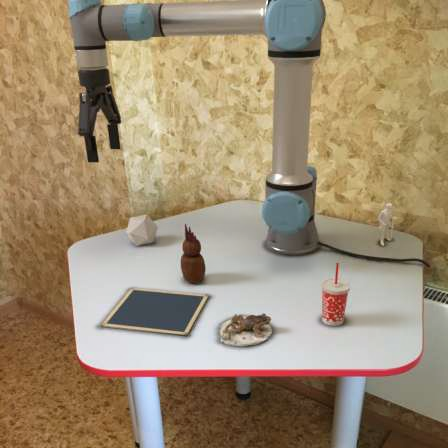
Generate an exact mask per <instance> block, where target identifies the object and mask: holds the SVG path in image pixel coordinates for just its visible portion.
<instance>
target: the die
mask: <svg viewBox="0 0 448 448" xmlns="http://www.w3.org/2000/svg"><path fill="white" fill-rule="evenodd" d="M158 229H159V226H158V225H157V224H156V223H155V222H154V220H153V219H152V217H151V216H149V214H142V215H137V216H132V217H131V216H130V217H129V220H128V223H127V228H126V231H125V234H126V235H127V237H128V238H129V239H130V240H131V242H132V243H133V244H134V245H135V247H140V246H144V245H149V244H153V243H154V241H155V238H156V235H157V232H158Z"/></svg>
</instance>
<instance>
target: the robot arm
mask: <svg viewBox="0 0 448 448" xmlns="http://www.w3.org/2000/svg"><path fill="white" fill-rule="evenodd" d="M67 5H68V15H69V16H68V19H69V23H70V28H71V35H72V40H73V46H74V58H75V61H76V67H77V68H78V71H77V76H78V82H79V83H78V84H79V85H80V87H82V88H83V87H84V88H85V92H79V94H78V97H79V99H78V100H79V112H78V113H79V114H78V127H77V134H78V136H79V137H83V139H84V145H85V151H86V152H85V153H86V159H87V162H88V163H95V164H96V163H97V164H98V163H99V162H100V159H99V151H98V145H97V138H96V137H97V136H96V135H94V132H95V127H96V122H97V117H98V113H99V112H100V110H101V112H102V113H103V116H104V117H105V119H106V121H107V122H108V124H106V126H107V127H106V128H107V135H108V143H109V147H110V148H109V149H110V150H121V149H122V148H121V139H120V133H119V125H120V124H122V120H121V119H122V116H121V113H120V110H119V107H118V105H117V102H116V98H115V96H114V91H113V85H111V76H110V69H109V68H107V67H109V58H108V50H107V45H106V43H107V42H142V41H148V40H150V39H152V38H168V37H170V38H171V37H175V38H176V37H217V36H218V37H219V36H221V37H223V36H224V37H227V36H264V37H265V38H266V39H267V59H268V60H269V61H270V62H271V63H272V64H273V67H274V70H273V73H274V74H273V109H272V112H273V113H272V116H273V117H272V149H271V150H272V153H271V154H272V157H271V170H270V172H269V173H268V174H267V175H266V176H265V196H264V197H265V199H264V202H263V204H262V207H261V215H262V219H263V222H264V223H265V225H266V226H267V227H268V230H267V235H266V239H265V244H266V246H265V247H266V248H267V249H268V250H270V251H272V252H274V253H276V254H279V255H285V256H302V255H308V254H311V253H314V252H316V251H317V250H318V249H319V247H324V248H327V249H330V250H332V251H334V252H338V253H341V254H344V255H348V256H351V257H356V258H360V259H366V260H367V259H368V260H374V261H375V260H376V261H386V262H394V263H395V262H396V263H405V262H407V263H408V262H416V263H421V264H423V265H425V266H426V267H427V268H431V265H430V264H429V263H428V262H427V261H426V260H424V259H421V258H416V257H412V258H391V257H383V256H382V257H380V256H374V255H373V256H372V255H365V254H360V253H356V252H351V251H347V250H343V249H340V248H337V247H334V246H331V245H329V244H326V243H323V242H321V241H320V237H319V232H318V229H317V226H316V221H315V213H316V212H315V209H316V194H317V180H318V172H317V169H316V167H314V166H311V165H308V161H309V144H310V143H309V142H310V125H311V124H310V123H311V106H312V105H311V104H312V86H313V72H314V71H313V69H314V65H315V64H316V62H317V61H319V59H320V58H321V53H322V51H321V50H322V38H323V37H322V36H323V35H322V34H323V29H324V26H325V24H326V23H325V22H326V16H327V13H326V6H325V3H324V0H209V1H208V0H207V1H183V2H181V1H180V2H163V3H161V2H158V3H157V2H156V3H155V2H154V3H152V2H147V3H126V4H108V5H107V4H102V2H101V0H68V1H67Z"/></svg>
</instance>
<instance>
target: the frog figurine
mask: <svg viewBox="0 0 448 448" xmlns="http://www.w3.org/2000/svg"><path fill="white" fill-rule="evenodd" d="M271 320H272V318H271V316H268V315H267V314H266V313H261V314H258V315H255V314H249V315H247V316H244V315H242V314H238V315H237V313H235V314H234V315H233V316H232V317H231V318H230V319H228V320H227V321H224V322H223V323H221V324H220V325H219V332H220V339H219V340H220V342H222V343H223V344H225V345H228V346H232V347H241V348H242V347H243V348H245V347H251V346H257V345H258V344H261V343H263V342H265V341H267V339H268V338H269V337H271V335H272V334H273V329H272V326H271V325H270V323H271Z"/></svg>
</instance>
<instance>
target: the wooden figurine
mask: <svg viewBox="0 0 448 448" xmlns="http://www.w3.org/2000/svg"><path fill="white" fill-rule="evenodd" d="M201 251H202V244H201V242H200V240H199V239H198V238H197V235H195V234H194V232H193V231H192V229H191V226H189V227H188V225H187V223H184V240H183V242H182V252H183V254H182V255H181V257H180V271H181V275H182V277H183V279H184V281H185V282H187V283H188V284H199V283H201V282H203V280H204V278H205V276H206V275H205V274H206V269H207V268H206V261H205V258H204V257H203V255H202V254H201Z"/></svg>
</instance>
